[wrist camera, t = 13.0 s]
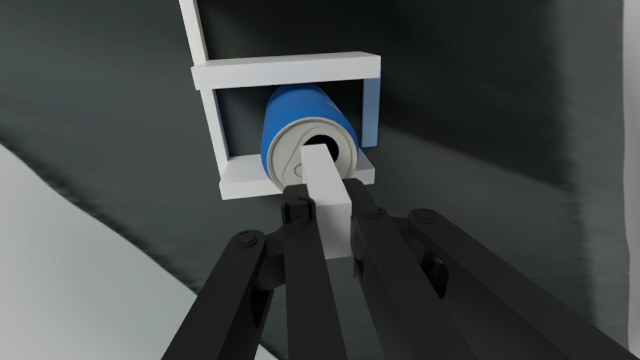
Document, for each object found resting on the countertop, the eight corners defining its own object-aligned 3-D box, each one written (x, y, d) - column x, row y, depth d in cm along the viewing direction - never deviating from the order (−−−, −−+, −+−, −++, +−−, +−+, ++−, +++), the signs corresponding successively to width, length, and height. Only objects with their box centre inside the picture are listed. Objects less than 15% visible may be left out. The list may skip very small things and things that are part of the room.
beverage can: (344, 112, 28) (384, 159, 18) (300, 156, 30) (313, 223, 19) (297, 63, 26) (312, 85, 15) (251, 114, 27) (236, 166, 17)
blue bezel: (363, 66, 27) (364, 67, 26) (379, 65, 27) (381, 66, 26) (361, 146, 30) (362, 147, 30) (375, 144, 31) (376, 146, 30)
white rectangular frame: (127, -242, 17) (59, -368, 12) (364, -231, 18) (401, -339, 13) (223, 176, 30) (212, 207, 25) (357, 163, 31) (373, 189, 26)
